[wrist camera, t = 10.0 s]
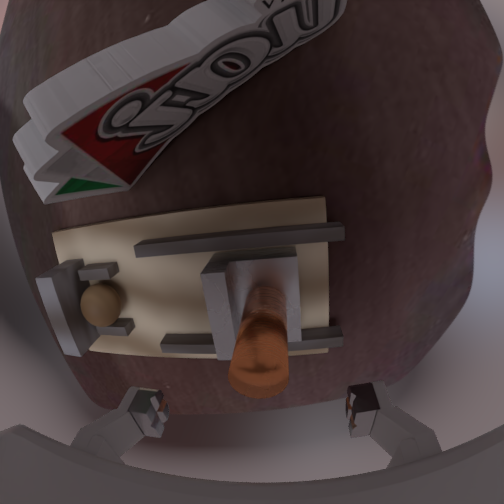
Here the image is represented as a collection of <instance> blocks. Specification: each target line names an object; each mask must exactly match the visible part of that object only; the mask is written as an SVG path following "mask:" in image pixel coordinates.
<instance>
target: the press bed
mask: <svg viewBox="0 0 504 504" xmlns="http://www.w3.org/2000/svg"><path fill="white" fill-rule="evenodd" d="M52 236H53V240H54V244H55V249H56V253H57V256H58V260H59V265H57V266H55V267H54V268H52V269H50V270H49V271H47V272H45V273H43V274H42V275H40V276H38V277H37V278H35V279H36V282H37V285H38V288H39V291H40V294H41V297H42V300H43V303H44V306H45V308H46V311H47V314H48V316H49V319H50V321H51V324H52V326H53V329H54V331H55V334H56V336H57V338H58V341H59V343H60V345H61V347H62V350H63V352H64V354H67V355H73V356H79V357H82V356H83V354H84V353H85V352H86V351H87V350H88V349H90V351H98V352H107V353H117V354H127V355H140V356H155V357H176V358H217V354H216V350H215V345H214V341H213V336H212V331H211V327H210V322H209V317H208V312H207V307H206V302H205V297H204V292H203V287H202V281H201V276H200V273H201V272H202V271H203V269H204V268H205V266H206V265H207V263H208V262H209V260H210V259H211V257H212V256H213V254H214V253H223V252H235V251H247V250H259V249H271V248H283V247H296V252H297V259H298V275H299V293H300V314H301V340H302V341H298V342H288V356H293V355H305V354H317V353H327V352H328V348H332V347H341V346H343V334H342V331H341V328H340V325H339V326H330V327H329V267H328V242H331V241H343V240H345V227H344V226H343V225H342V224H341V223H340V222H327V217H326V201H325V197H324V196H315V197H301V198H289V199H277V200H266V201H256V202H246V203H237V204H227V205H219V206H210V207H202V208H194V209H186V210H178V211H171V212H164V213H157V214H150V215H143V216H137V217H130V218H124V219H118V220H112V221H106V222H100V223H94V224H89V225H83V226H78V227H72V228H67V229H62V230H58V231H56V232H53V233H52ZM98 283H102V284H106V285H109V286H111V287H112V288H113V289H114V290H115V291H116V292H117V293H118V295H119V297H120V300H121V313H120V315H119V317H118V319H117V320H116V321H115V322H114V323H113V324H111V325H109V326H106V327H98V326H95V325H92V324H91V323H89V322H88V321H87V320H86V319H85V317H84V316H83V314H82V311H81V306H80V304H81V297H82V295H83V293H84V291H85V290H86V289H87V288H88V287H90V286H91V285H94V284H98Z"/></svg>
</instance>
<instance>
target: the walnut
mask: <svg viewBox="0 0 504 504" xmlns="http://www.w3.org/2000/svg"><path fill="white" fill-rule="evenodd" d="M80 306H81V311H82V314H83V316H84V317H85V319H86V320H87V321H88V322H89V323H91V324H92V325H95V326H98V327H106V326H109V325H111V324H113V323H114V322H115V321H116V320H117V319H118V317H119V315H120V313H121V300H120V297H119V295H118V293H117V292H116V291H115V290H114V289H113V288H112V287H111V286H109V285H106V284H102V283H98V284H94V285H91V286H90V287H88V288H87V289H86V290H85V291H84V293H83V295H82V297H81V304H80Z"/></svg>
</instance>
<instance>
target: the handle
mask: <svg viewBox="0 0 504 504" xmlns="http://www.w3.org/2000/svg"><path fill="white" fill-rule="evenodd" d="M200 276H201V281H202V287H203V292H204V297H205V302H206V307H207V312H208V317H209V322H210V327H211V331H212V336H213V341H214V345H215V350H216V354H217V358H218V360H231V364H230V368H229V372H228V379H229V382H230V384H231V386H232V387H233V388H234V389H235V390H236V391H237V392H239V393H240V394H242V395H245V396H247V397H251V398H269V397H273V396H275V395H277V394H279V393H280V392H282V391H283V390H284V389H285V388H286V386H287V384H288V380H289V368H288V342H298V341H302V340H301V314H300V293H299V275H298V259H297V252H296V247H283V248H271V249H259V250H247V251H235V252H223V253H214V254H213V256H212V257H211V259H210V260H209V262H208V263H207V265H206V266H205V268H204V269H203V271H202V272H201V273H200Z"/></svg>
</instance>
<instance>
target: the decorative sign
mask: <svg viewBox="0 0 504 504" xmlns="http://www.w3.org/2000/svg"><path fill="white" fill-rule="evenodd" d="M346 3H347V0H208V1H205V2H202V3H200V4H198V5H196V6H194V7H192V8H190V9H188V10H186V11H185V12H183V13H182V14H180V15H179V16H178V17H176V18H175V19H174V20H173V21H172V22H171V23H170V24H169V25H167V26H165V27H162V28H158V29H155V30H152V31H149V32H146V33H144V34H141V35H138V36H136V37H133V38H130V39H127V40H124V41H122V42H119V43H118V44H115V45H113V46H110V47H108V48H106V49H104V50H102V51H99V52H97V53H95V54H93V55H91V56H89V57H87V58H86V59H83V60H81V61H79V62H78V63H76V64H74V65H72V66H70V67H68V68H67V69H65V70H63V71H61V72H60V73H58V74H56V75H54V76H53V77H51V78H50V79H48V80H46V81H45V82H43V83H42V84H40V85H38V86H37V87H35V88H34V89H32V90H31V91H30V92H29V93H28V94H27V95H26V96H25V98H24V100H23V104H24V105H25V107H26V109H27V111H28V113H29V115H30V116H31V118H32V119H31V120H30V121H29V122H27V123H26V124H25V125H24V126H23V127H22V128H20V129H19V130H18V131H17V132H16V134H15V135H14V137H13V142H14V144H15V146H16V148H17V150H18V152H19V154H20V156H21V158H22V159H23V161H24V163H25V165H24V171H25V172H26V174H27V176H28V178H29V179H30V181H31V183H32V185H33V186H34V188H35V190H36V191H37V193H38V195H39V196H40V198H41V199H42V201H43V203H44V204H50V203H55V202H61V201H66V200H71V199H77V198H82V197H88V196H95V195H101V194H108V193H113V192H120V191H128V190H130V188H131V187H132V186H133V185H134V184H135V183H136V182H137V181H138V179H139V178H140V177H141V176H142V174H143V173H144V172H145V171H146V169H147V168H148V167H149V166H150V165H151V163H152V162H153V161H154V160H155V159H156V157H157V156H158V155H159V154H160V153H161V152H162V150H163V149H164V148H165V147H166V146H167V145H168V143H169V142H170V141H171V140H172V139H173V138H175V137H176V136H177V135H179V134H180V133H181V132H182V131H183V130H185V129H186V128H187V127H188V126H189V125H190V124H191V123H192V122H193V121H194V120H195V119H196V118H197V117H198V116H199V115H200V114H202V113H203V112H205V111H206V110H208V109H209V108H211V107H212V106H214V105H215V104H216V103H217V102H219V101H220V100H221V99H222V98H223V97H225V96H226V95H227V94H228V93H229V92H230V91H232V90H234V89H235V88H237V87H238V86H240V85H241V84H243V83H244V82H246V81H247V80H248V79H250V78H251V77H252V76H253V75H255V74H256V73H257V72H258V71H259V70H260V69H262V68H263V67H265V66H267V65H269V64H271V63H273V62H275V61H277V60H278V59H280V58H281V57H283V56H284V55H286V54H287V53H289V52H290V51H291V50H293V49H294V48H295V47H298V46H300V45H302V44H304V43H306V42H308V41H309V40H311V39H313V38H314V37H316V36H318V35H319V34H321V33H322V32H324V31H325V30H327V29H328V28H329V27H331V26H332V25H333V24H334V23H335V22H336V21H337V20H338V19H339V18H340V17H341V15H342V14H343V13H344V10H345V7H346Z"/></svg>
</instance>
